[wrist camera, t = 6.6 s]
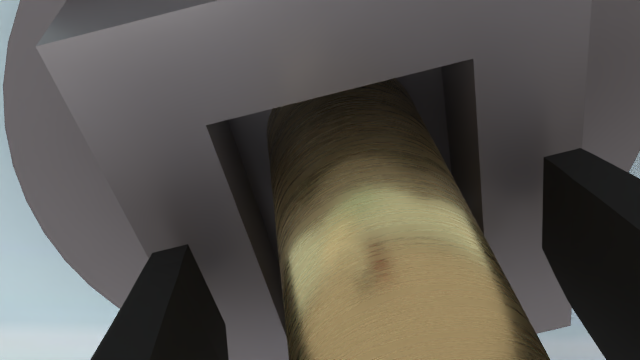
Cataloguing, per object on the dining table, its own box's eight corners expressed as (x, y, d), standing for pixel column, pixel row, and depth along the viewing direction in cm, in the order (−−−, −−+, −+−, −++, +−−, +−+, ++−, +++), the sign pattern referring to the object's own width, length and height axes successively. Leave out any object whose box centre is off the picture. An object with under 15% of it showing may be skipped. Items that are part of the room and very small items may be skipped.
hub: (608, 269, 17) (673, 356, 14) (161, 376, 17) (150, 479, 15) (676, -324, 9) (841, -354, 7) (-139, -111, 9) (-267, -65, 7)
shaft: (428, 210, 13) (574, 547, 8) (297, 242, 13) (347, 599, 8) (406, 45, 11) (597, 354, 5) (248, 84, 11) (268, 432, 5)
